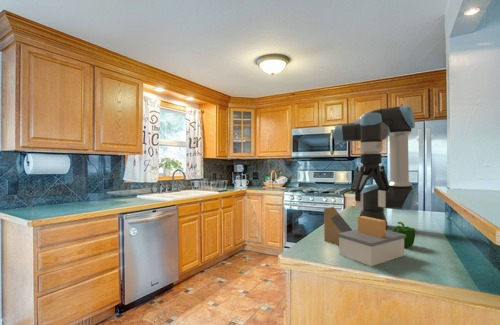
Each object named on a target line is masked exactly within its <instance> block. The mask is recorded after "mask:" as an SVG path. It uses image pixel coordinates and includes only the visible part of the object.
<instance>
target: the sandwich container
mask: <svg viewBox="0 0 500 325" xmlns="http://www.w3.org/2000/svg"><path fill="white" fill-rule="evenodd" d="M323 222H324V223H323V227H324V228H323V232H324V235H323V236H324V237H323V238H324V239H323V240H324V242H326V243H330V244H335V245H338V246H339V237H337V233H342V232H347V231H352V230H353V229H352V228H351V227H350V225H349V224H348V223H347V222H346V220H345V219H344V218H343V217H342V215H341V214H340V213H339V212H338V211H337V209H336V208H335V207H334V206H331V207H327V208H324V210H323Z"/></svg>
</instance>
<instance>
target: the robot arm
mask: <svg viewBox="0 0 500 325" xmlns="http://www.w3.org/2000/svg"><path fill="white" fill-rule="evenodd" d="M415 120H416V119H415V115H414V111H413V109H412V107H411V106H409V105H403V106H394V107H386V108H378V109H374V110H371V111H369V112H366V113H363V114H362V115H361V116H360V117H359V118H358V119H356V120H353V121H352V122H348V123H347V124H340V125H335V126H334V127H333V129H332V130H333V132H332V136H333V140H334V141H335V142H337V143H346V142H358V141H359V142H360V143H359V144H360V148H359V151H360V161H359V162H360V164H362V165H357V166H356V172H355V175H354V178H353V181H352V184H351V187H350V191H352V193H354V196H355V197H354V201H355V210H358V211H360V214H359V216H365V217H370V218H375V219H380V220H386V228H388V221H387V218H386V215H385V209H392V210H402V211H411V210H412V209H413V208H414V206H415V202H416V195H417V189H416V188H415V187H413V183H411V181H410V180H409V178H410V176H409V174H410V172H409V164H410V163H409V135H410V134H412V129H415V128H416V127H415V126H416V121H415ZM388 137H389V171H390V172H389V173H390V177H389V179H390V181H389V180H388V177H387V174H386V171H385V169H386V168H385V165H381V164H382V161H383V160H382V156H383V155H382V154H381V153H382V150H383V149H382V141H384V140H386V139H387V138H388ZM370 178H371V179H373V180H374V182H375V184H374V183H373V184H367V182H368V180H370Z"/></svg>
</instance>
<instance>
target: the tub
mask: <svg viewBox="0 0 500 325" xmlns="http://www.w3.org/2000/svg"><path fill="white" fill-rule="evenodd" d="M338 252H339V253H338V255H339V256H343V257H345V258H348V259H351V260H353V261H355V262H358V263H361V264H365V265H367V266H369V267H373V266H376V265H377V266H378V265H380V264H382V263H385V262H389V261H391V260H392V261H393V260H395V258H396V259H399V258H401V256H402V257H404V256H405V247H404V238H403V239H399V240H396V241H392V242H388V243H384V244H380V245H376V246H373V247H370V246H367V245H364V244H360V243H357V242H354V241H351V240H347V239H344V238H341V237H339V245H338ZM398 257H399V258H398Z"/></svg>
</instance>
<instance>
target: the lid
mask: <svg viewBox="0 0 500 325" xmlns="http://www.w3.org/2000/svg"><path fill="white" fill-rule="evenodd" d="M386 220H387V219H386ZM386 220H380V219H375V218H370V217H365V216H360V215H359V216H357V229H352V231H347V232H342V233H337V237H341V238H344V239H347V240H351V241H354V242H357V243H360V244H364V245H367V246H370V247H373V246H376V245H380V244H384V243H388V242H392V241H396V240H399V239H403V238H406V234H401V233H397V232H393V231H392V230H387V229H386V228H387V227H386Z"/></svg>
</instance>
